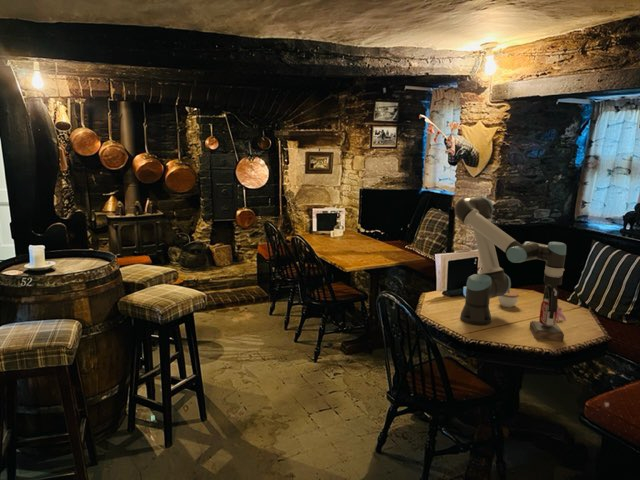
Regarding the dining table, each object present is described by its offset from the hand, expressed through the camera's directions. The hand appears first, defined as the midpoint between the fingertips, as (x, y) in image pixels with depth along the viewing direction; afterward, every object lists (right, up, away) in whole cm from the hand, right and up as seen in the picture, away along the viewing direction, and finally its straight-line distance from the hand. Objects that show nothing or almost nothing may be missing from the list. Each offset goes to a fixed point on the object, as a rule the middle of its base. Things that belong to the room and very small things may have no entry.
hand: (547, 321), depth 208 cm
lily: (+15, -3, +21) cm, 26 cm away
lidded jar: (-2, +1, +40) cm, 40 cm away
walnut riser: (0, -7, +1) cm, 7 cm away
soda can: (0, -2, 0) cm, 2 cm away
